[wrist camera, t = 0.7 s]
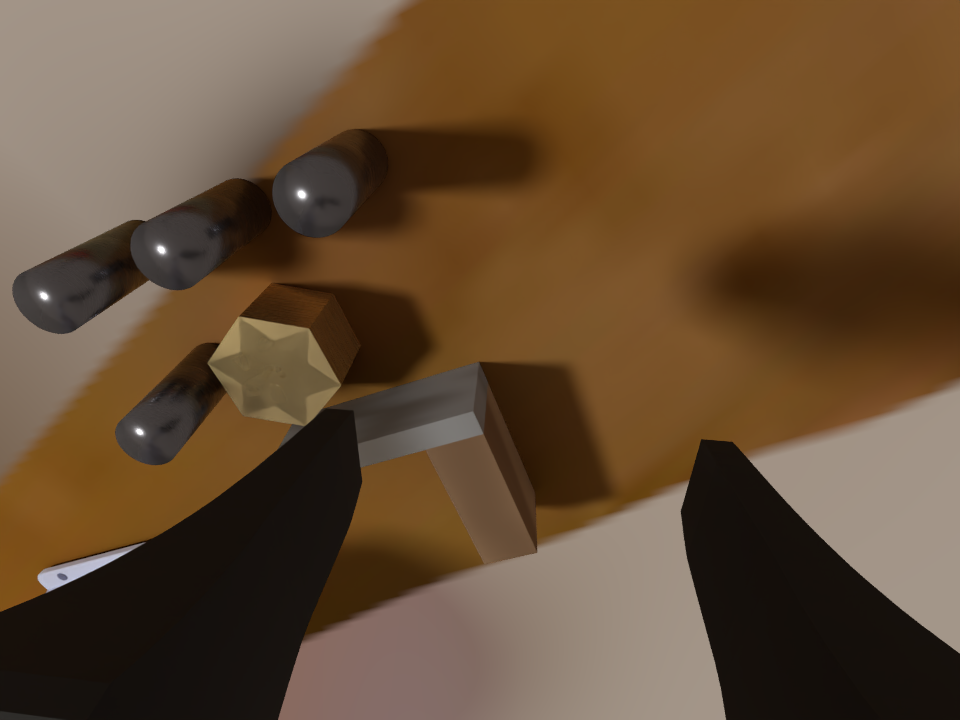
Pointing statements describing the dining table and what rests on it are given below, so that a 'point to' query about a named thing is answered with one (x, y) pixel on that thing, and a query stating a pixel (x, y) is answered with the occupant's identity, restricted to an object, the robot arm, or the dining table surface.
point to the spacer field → (195, 270)
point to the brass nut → (286, 354)
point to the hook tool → (455, 453)
